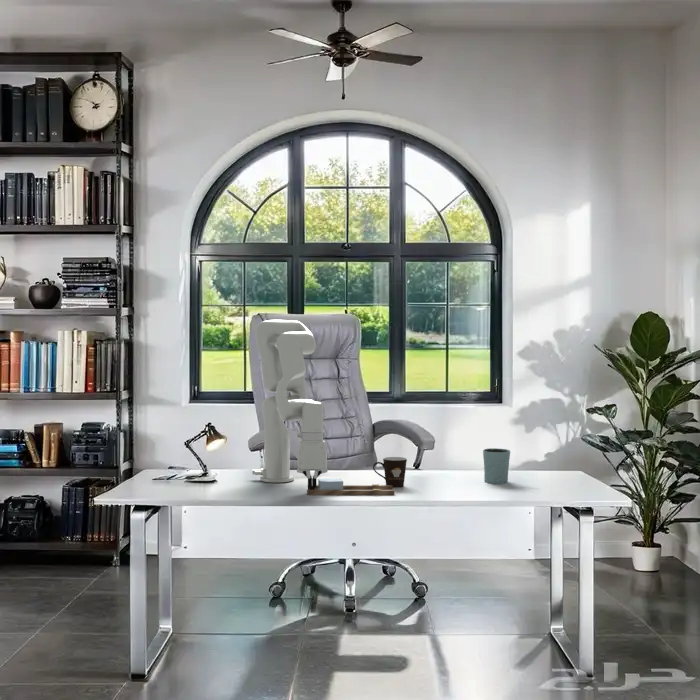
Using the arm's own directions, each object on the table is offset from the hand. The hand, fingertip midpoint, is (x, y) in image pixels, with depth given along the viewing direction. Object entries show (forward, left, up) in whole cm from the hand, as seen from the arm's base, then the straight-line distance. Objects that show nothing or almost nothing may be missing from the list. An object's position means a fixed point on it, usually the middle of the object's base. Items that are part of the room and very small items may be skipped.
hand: (312, 489), depth 315 cm
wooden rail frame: (+13, 0, -1) cm, 13 cm away
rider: (+6, 0, -1) cm, 7 cm away
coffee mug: (+28, +13, -1) cm, 31 cm away
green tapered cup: (+68, +21, -1) cm, 72 cm away
